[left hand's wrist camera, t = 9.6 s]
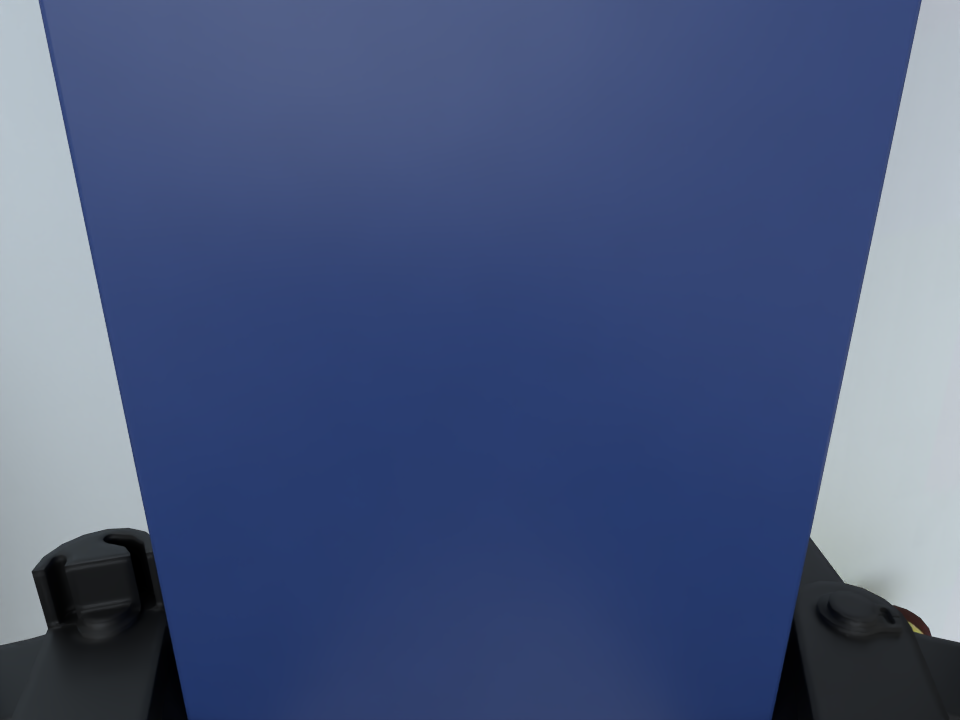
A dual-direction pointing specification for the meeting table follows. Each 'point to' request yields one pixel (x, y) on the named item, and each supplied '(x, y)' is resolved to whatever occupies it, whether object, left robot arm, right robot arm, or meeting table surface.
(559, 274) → the bar
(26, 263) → the meeting table surface
